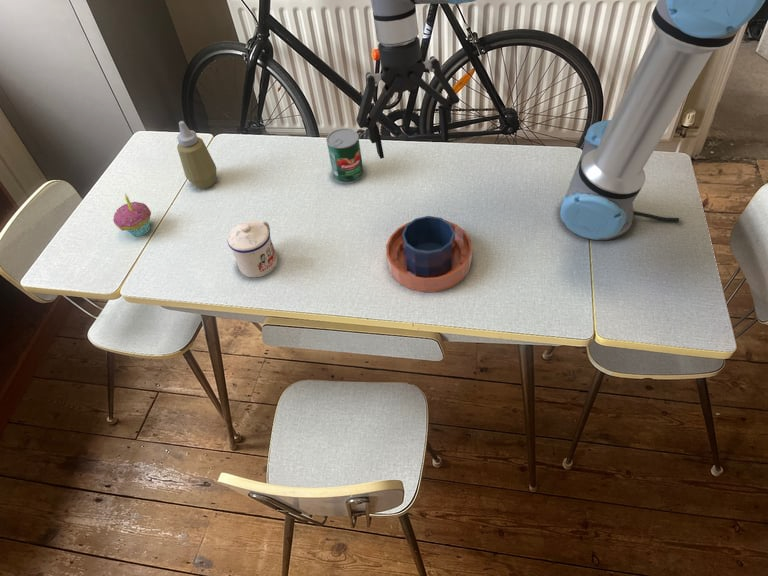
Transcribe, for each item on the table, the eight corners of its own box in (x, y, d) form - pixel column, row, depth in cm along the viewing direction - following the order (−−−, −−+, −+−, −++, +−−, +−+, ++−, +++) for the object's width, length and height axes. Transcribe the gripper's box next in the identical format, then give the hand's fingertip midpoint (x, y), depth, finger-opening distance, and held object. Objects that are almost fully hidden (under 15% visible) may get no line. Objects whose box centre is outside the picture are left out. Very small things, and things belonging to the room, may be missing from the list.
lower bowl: (478, 240, 129) (479, 225, 125) (460, 300, 118) (461, 286, 115) (401, 227, 133) (400, 213, 130) (377, 284, 123) (375, 270, 119)
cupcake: (164, 222, 141) (145, 184, 132) (142, 246, 137) (120, 207, 128) (137, 214, 144) (117, 176, 135) (114, 237, 139) (91, 199, 130)
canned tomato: (345, 160, 152) (339, 124, 143) (369, 170, 148) (365, 133, 140) (326, 177, 148) (319, 141, 139) (351, 187, 144) (345, 151, 136)
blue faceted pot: (458, 247, 127) (459, 220, 121) (447, 282, 121) (447, 256, 115) (412, 239, 130) (410, 213, 124) (398, 273, 124) (396, 247, 117)
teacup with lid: (268, 282, 126) (254, 244, 117) (231, 275, 128) (215, 237, 119) (290, 244, 133) (279, 206, 124) (255, 237, 135) (241, 199, 126)
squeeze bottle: (226, 177, 151) (205, 117, 137) (205, 195, 147) (181, 135, 133) (204, 169, 154) (181, 109, 141) (183, 186, 150) (157, 127, 137)
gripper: (457, 17, 107) (465, 124, 121) (327, 49, 105) (350, 154, 119) (471, 28, 101) (477, 139, 115) (334, 62, 99) (357, 171, 113)
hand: (413, 147), depth 117 cm, fingers open, 13 cm apart
